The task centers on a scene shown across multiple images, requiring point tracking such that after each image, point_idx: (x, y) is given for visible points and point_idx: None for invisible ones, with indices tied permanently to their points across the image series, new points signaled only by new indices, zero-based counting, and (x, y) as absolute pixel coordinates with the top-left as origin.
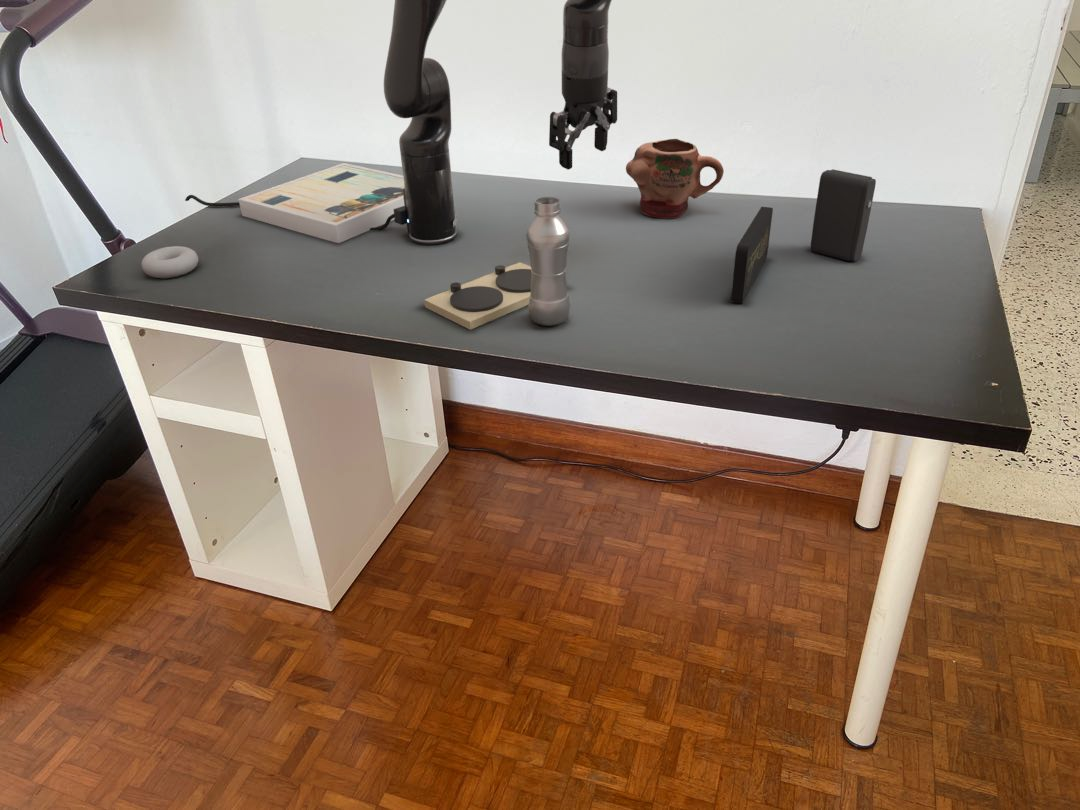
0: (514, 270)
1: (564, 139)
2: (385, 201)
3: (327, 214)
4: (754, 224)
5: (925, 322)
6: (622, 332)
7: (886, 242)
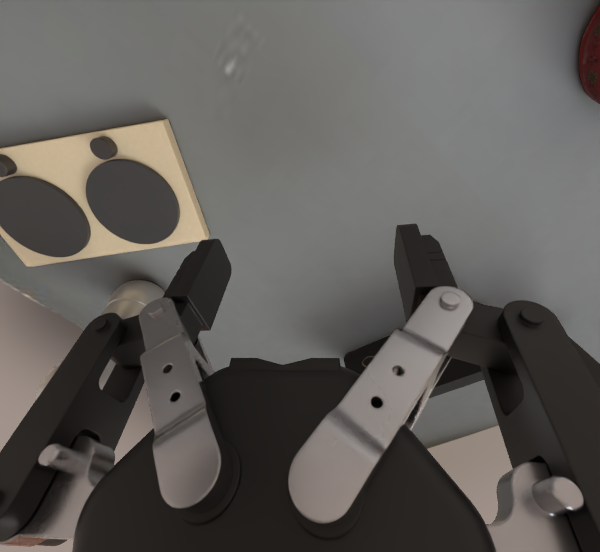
0: (131, 167)
1: (138, 392)
2: None
3: None
4: (436, 390)
5: (421, 426)
6: (213, 344)
7: (596, 345)
